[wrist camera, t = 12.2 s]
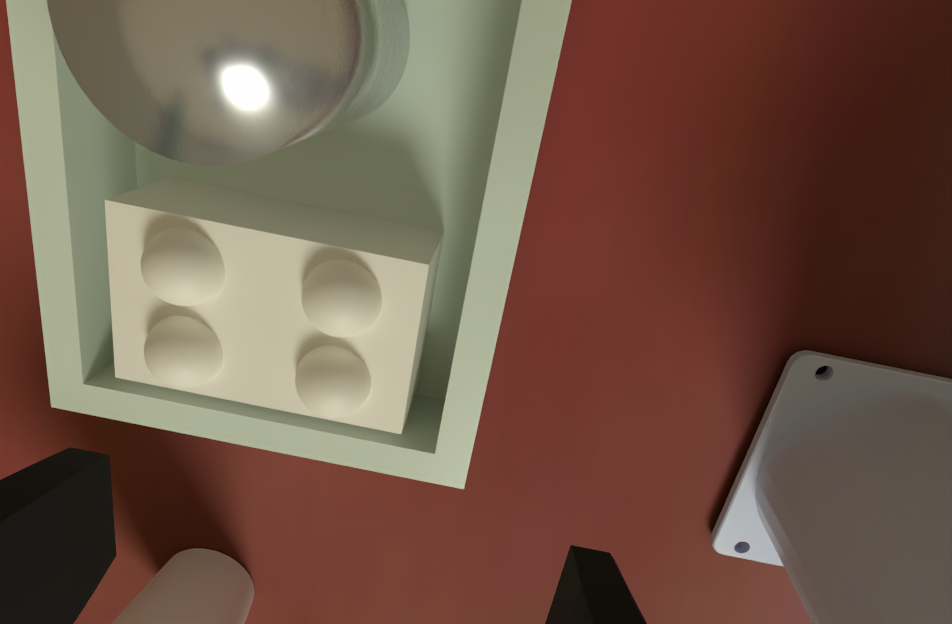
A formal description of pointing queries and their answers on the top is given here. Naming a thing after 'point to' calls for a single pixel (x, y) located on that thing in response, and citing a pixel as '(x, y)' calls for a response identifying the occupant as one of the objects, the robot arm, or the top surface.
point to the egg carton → (270, 301)
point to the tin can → (231, 69)
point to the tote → (319, 184)
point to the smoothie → (193, 592)
